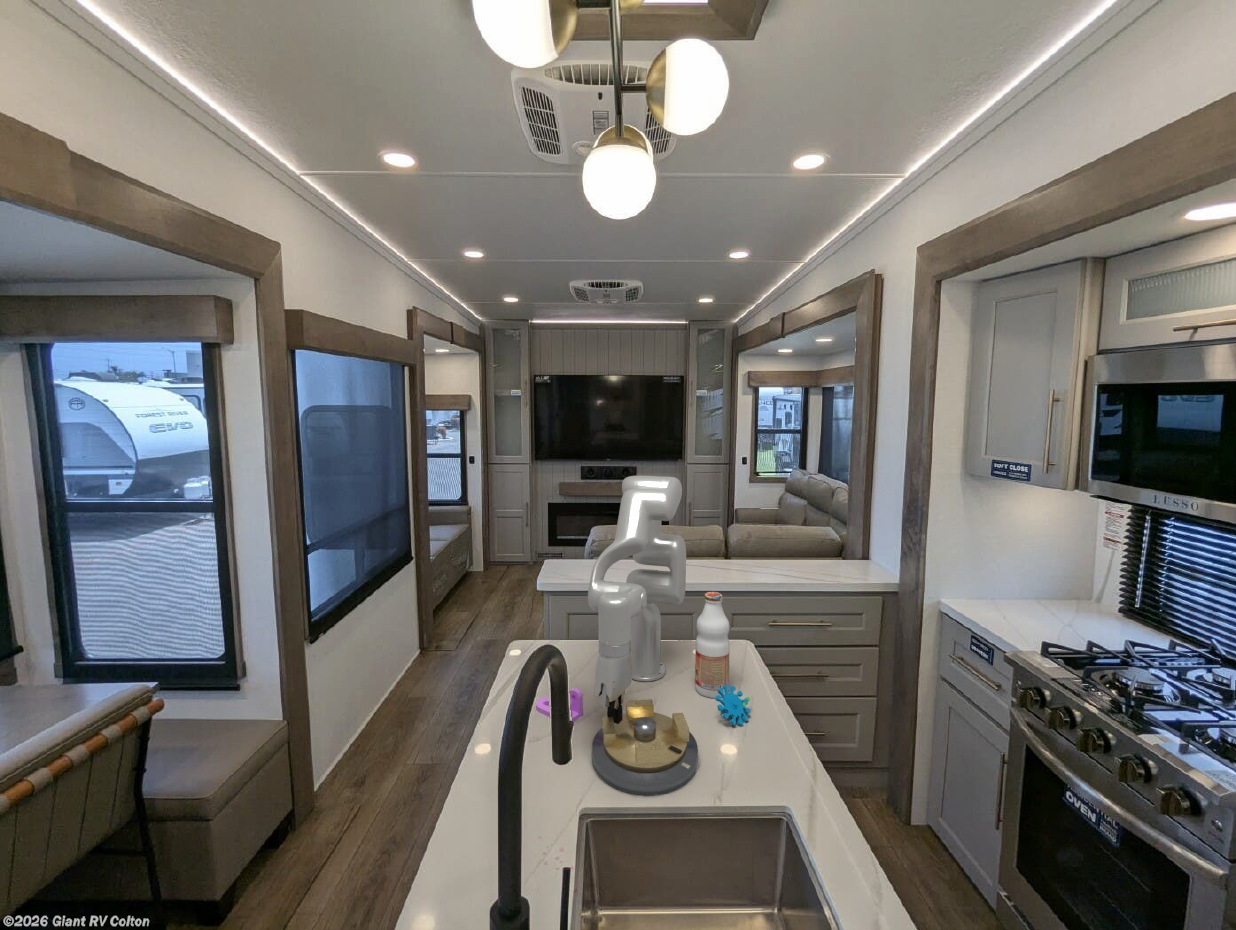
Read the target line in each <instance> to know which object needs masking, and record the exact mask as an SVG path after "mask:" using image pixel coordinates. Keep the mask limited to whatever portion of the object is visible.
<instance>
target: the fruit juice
mask: <svg viewBox="0 0 1236 930" xmlns="http://www.w3.org/2000/svg"><path fill="white" fill-rule="evenodd" d="M723 599H724V598H723V594H722V593H720V592H717V591H708V592H705V593H704V601H705V603H704V606H703V610H702V612H701V614H700V615H699V616H698V618H697V620H696V630H697V636H696V639H695V655H694V656H695V658H694V660H695V665H694V667H695V668H694V669H695V671H694V673H695V674H694V688H695V691H696V692H697V693H698V694H699V695H701V696H703V697H705V698H710V699H716V696H717V695H720V694H719V693H718V691H717V690H719V689H720V688H722V689H723V686H724V685H728V686H729V685H730V684H729V683H730V681H729V680H730V678H729V677H730V649H731V648H730V640H729V637H728V636H729V632H730V621H729V620H728V618H727V616H726V614H725V611H724V609H723V605H722V602H723ZM729 687H730V686H729ZM723 693H724V695H725V691H724V689H723ZM720 696H721V695H720ZM721 698H722V696H721Z"/></svg>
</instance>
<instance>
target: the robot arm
mask: <svg viewBox="0 0 1236 930" xmlns="http://www.w3.org/2000/svg"><path fill="white" fill-rule="evenodd" d="M621 492H622V496H621V501H620V506H619V513H618V518H617V525H616V531H615V537H614V541H613V542H612V543H611V544H609V546H608V547H606V548H605V549H604V550H603V551H602V552H601V554H600V555H599V556H598V557H597V559H596V560H595V562H594V563H593V564H594V565H593V567H592V570H591V574H590V578H589V585H588V590H587V603H588V606H589V608H590V609H591V610H592V611H594V612H598V614H597V615H598V656H597V659H596V660H597V661H596V667H595V677H594V696H595V697H596V698H600V696H601V700H600V707H602V708H605V709H607V713H606V714H607V716H606V717H613V720H614V723H616V724H619V723H620V722H621V721H622V715H623V704H624V699H625V692H626V690H627V689H629V688H630V686H631V683H632V680H635V681H638V682H652V681H653V682H654V681H657V680H659V679H662V678H663V677H664V676H665V675H666V666H665V664H664V663H662V662H661V657H662V656H661V653H662V651H661V648H662V645H661V643H662V641H661V638H662V635H661V633H662V631H661V630H662V628H661V627H662V617H661V612H660V610H659V608H658V606H657V605H656V604H664V605H674V606H675V605H680V604H682V603H683V601H684V599H685V597H686V586H687V585H686V583H687V582H686V580H687V547H686V542H685V540H684V538H683V537H682V536H681V535H678V534H669V533H663V532H662V521H663V522H668V521H671V520H673V518H674V516H675V515H676V513H677V510H678V507H679V505H680V502H681V500H682V495H683V486H682V482H681V481H680V480H679V478H677V477H675V476H658V475H631V476H627V477H625V478H624V479H623V480H622V483H621ZM629 557H632V558H633V561H634V562H635V563H636V564H639V565H644V566H654V567H666V568H668V569H669V570H659V569H647V568H639V569H638V568H637V569H634V570H631V571H629V573H628V574H627V578H626V581H625V582H622V581H621V582H620V581H613V580H612V581H609V580H605V576H606V573H607V572H608V570H609V569H610V568H611V567H612V566H613V565H614V564H615V563H617V562H620V561H621V560H624V559H626V558H629Z"/></svg>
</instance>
